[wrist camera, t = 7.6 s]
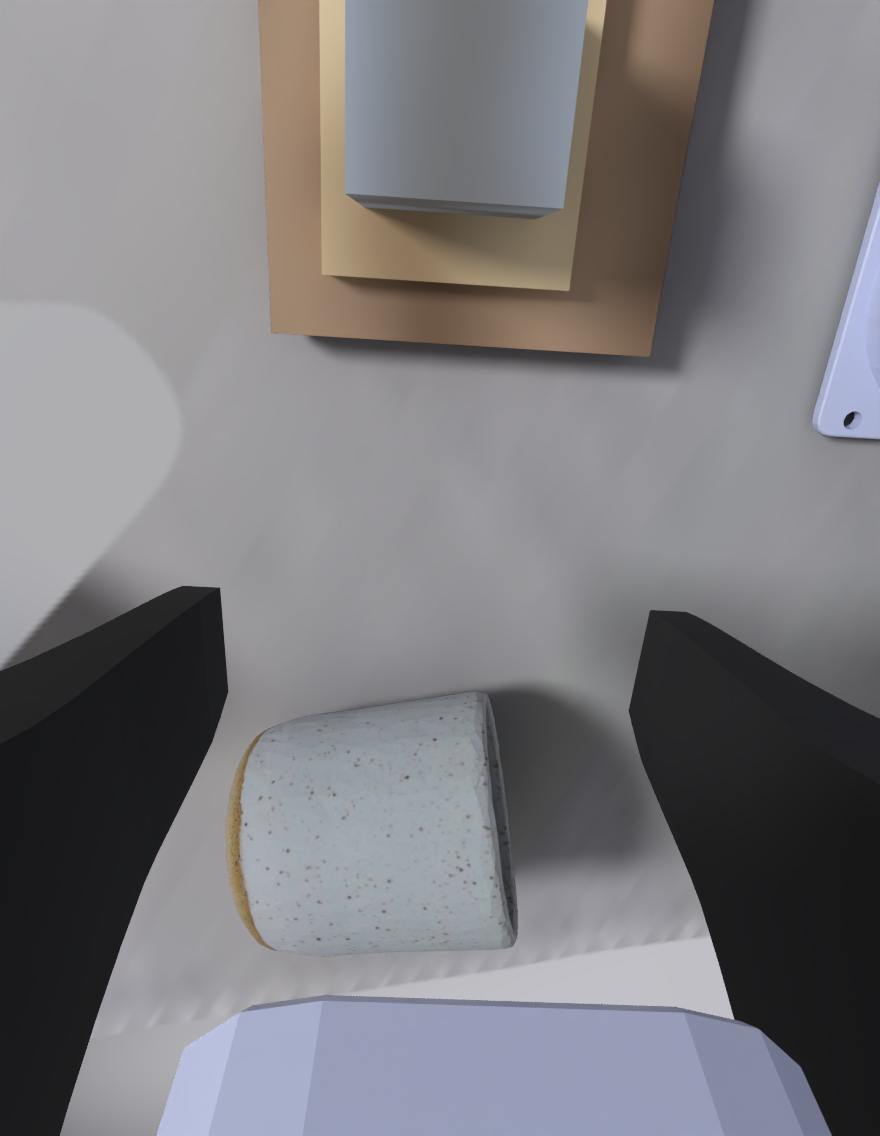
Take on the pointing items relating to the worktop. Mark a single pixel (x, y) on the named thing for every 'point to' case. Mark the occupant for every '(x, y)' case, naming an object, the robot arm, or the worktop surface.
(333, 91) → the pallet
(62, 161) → the worktop surface
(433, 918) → the ceramic mug
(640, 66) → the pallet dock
